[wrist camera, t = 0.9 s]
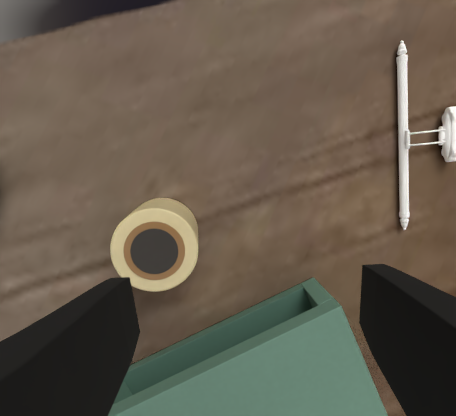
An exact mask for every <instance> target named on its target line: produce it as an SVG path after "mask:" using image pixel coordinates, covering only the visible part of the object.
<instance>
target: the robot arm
mask: <svg viewBox="0 0 456 416" xmlns="http://www.w3.org/2000/svg"><path fill="white" fill-rule="evenodd" d="M359 323H360V325H361V328H362V330H363V333H364V336H365V338H366V341H367V343H368V345H369V348H370V350H371V353H372V355H373V356H374V358H375V360H376V362H377V364H378V366H379V367H380V369H381V371H382V373H383V375H384V376H385V378H386V380H387V382H388V384H389V385H390V387H391V389H392V391H393V392H394V394H395V396H396V398H397V399H398V401H399V403H400V405H401V407H402V408H403V410H404V412H405V414H406V415H407V416H456V297H454V296H452V295H450V294H447V293H445V292H443V291H441V290H439V289H437V288H435V287H433V286H431V285H429V284H427V283H424V282H422V281H420V280H418V279H416V278H414V277H412V276H410V275H408V274H406V273H404V272H402V271H399V270H397V269H395V268H393V267H390V266H388V265H385V264H374V265H363V266H362V285H361V303H360V322H359ZM139 334H140V329H139V324H138V318H137V313H136V308H135V303H134V297H133V292H132V287H131V282H130V277H123V278H110V279H108V280H106V281H104V282H102V283H100V284H98V285H97V286H95V287H93V288H92V289H90V290H88V291H87V292H85V293H83V294H82V295H80V296H78V297H77V298H75V299H74V300H72V301H70V302H69V303H67V304H65V305H64V306H62V307H61V308H59V309H57V310H56V311H54V312H52V313H51V314H49V315H47V316H45V317H44V318H42V319H40V320H39V321H37V322H35V323H33V324H32V325H30V326H28V327H26V328H25V329H23V330H21V331H19V332H18V333H16V334H14V335H12V336H10V337H8V338H7V339H5V340H3V341H1V342H0V416H108V414H109V412H110V410H111V408H112V405H113V403H114V401H115V399H116V396H117V394H118V392H119V390H120V387H121V385H122V383H123V380H124V378H125V376H126V373H127V371H128V369H129V366H130V364H131V361H132V358H133V355H134V352H135V348H136V345H137V341H138V337H139Z"/></svg>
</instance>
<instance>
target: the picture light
mask: <svg viewBox="0 0 456 416" xmlns="http://www.w3.org/2000/svg"><path fill="white" fill-rule="evenodd" d="M403 42H404V41H400V43H401V44H400V45H399V47H398V51H397V55H399V56H398V57H396V63H397V86H398V145H399V204H400V212H399V217H400V218H401V219H400V222H401V226H402V227H403V230H406V227H407V226H408V222H409V219H408V217H410V212H409V173H408V149H410V146H417V145H428V144H437V143H438V145H442V151H441V154H442V156H443V157H444V159H445V161H446V162H453V161H456V106H455V107H447V108H446V109H445V113H444V114H443V115H442V123H443V126H441V127H439V130H431V131H422V132H413V133H410V130H408V88H407V61H408V55H404V54H406V53H407V50H406V46H405V44H404V43H403ZM438 131H439V142H431V143H420V144H410V134H419V133H429V132H438Z"/></svg>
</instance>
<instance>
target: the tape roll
mask: <svg viewBox="0 0 456 416" xmlns="http://www.w3.org/2000/svg"><path fill="white" fill-rule="evenodd" d="M110 254H111V259H112V263H113V265H114V267H115V269H116V271H117V272H118V274H119V275H120V276H121V277H122V278H123V277H130V282H131V285H132V286H134V287H136V288H138V289H141V290H145V291H152V292H158V291H165V290H168V289H171V288H174V287H176V286H177V285H179V284H181V283H182V282H183V281H184V280H185V279H187V278H188V276H189V275H190V274H191V273H192V271H193V269H194V267H195V265H196V262H197V259H198V225H197V222H196V219H195V217H194V215H193V214H192V212H191V211H190V210H189V209H188V208H187V207H186V206H185V205H184V204H182V203H180V202H178V201H176V200H173V199H169V198H155V199H151V200H149V201H146V202H145V203H143V204H141V205H140V206H139V207H138V208H136V209H135V210H134V211H133V212H132V213H131V214H129V215H128V216H127V217H126V218H125V219H124V220H123V221H122V222H121V223H120V224H119V225H118V226H117V228H116V230H115V231H114V234H113V236H112V240H111V245H110Z"/></svg>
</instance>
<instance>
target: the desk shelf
mask: <svg viewBox="0 0 456 416" xmlns="http://www.w3.org/2000/svg"><path fill="white" fill-rule="evenodd" d="M108 416H388V415H387V413H386V410H385V408H384V406H383V403H382V401H381V399H380V396H379V394H378V391H377V389H376V387H375V384H374V382H373V380H372V377H371V375H370V373H369V370H368V368H367V365H366V363H365V361H364V358H363V356H362V354H361V351H360V349H359V346H358V344H357V342H356V339H355V337H354V335H353V332H352V330H351V328H350V325H349V323H348V320H347V318H346V316H345V313H344V311H343V309H342V306H341V305H340V304H339V303H338V302H337V301H336V300H335V299H334V298H333V297H332V296H331V295H330V294H329V293H328V292H327V291H326V290H325V289H324V288H323V287H322V286H321V285H320V284H319V283H318V281H317V280H316V279H315V278H311V279H309V280H307V281H305V282H303V283H301V284H298V285H296V286H294V287H292V288H290V289H288V290H286V291H283V292H281V293H279V294H277V295H275V296H273V297H271V298H269V299H267V300H265V301H263V302H261V303H259V304H256V305H254V306H252V307H250V308H248V309H246V310H244V311H242V312H240V313H238V314H236V315H234V316H232V317H229V318H227V319H225V320H223V321H221V322H219V323H217V324H215V325H213V326H211V327H209V328H207V329H205V330H202V331H200V332H198V333H196V334H194V335H192V336H190V337H188V338H186V339H184V340H182V341H180V342H178V343H175V344H173V345H171V346H169V347H167V348H165V349H163V350H161V351H159V352H157V353H155V354H153V355H151V356H148V357H146V358H144V359H142V360H140V361H138V362H136V363H134V364H132V365H130V366H129V369H128V371H127V373H126V376H125V378H124V380H123V383H122V385H121V387H120V390H119V392H118V394H117V396H116V399H115V401H114V403H113V405H112V408H111V410H110V412H109V414H108Z"/></svg>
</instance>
